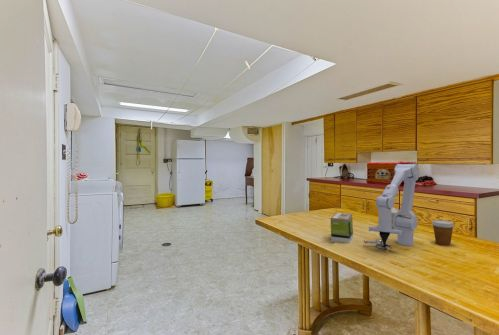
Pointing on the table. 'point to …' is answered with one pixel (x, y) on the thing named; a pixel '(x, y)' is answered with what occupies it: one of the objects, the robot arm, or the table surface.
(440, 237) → the disposable coffee cup
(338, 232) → the tea box
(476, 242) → the table surface
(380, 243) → the capstan
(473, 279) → the table surface
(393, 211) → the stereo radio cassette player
